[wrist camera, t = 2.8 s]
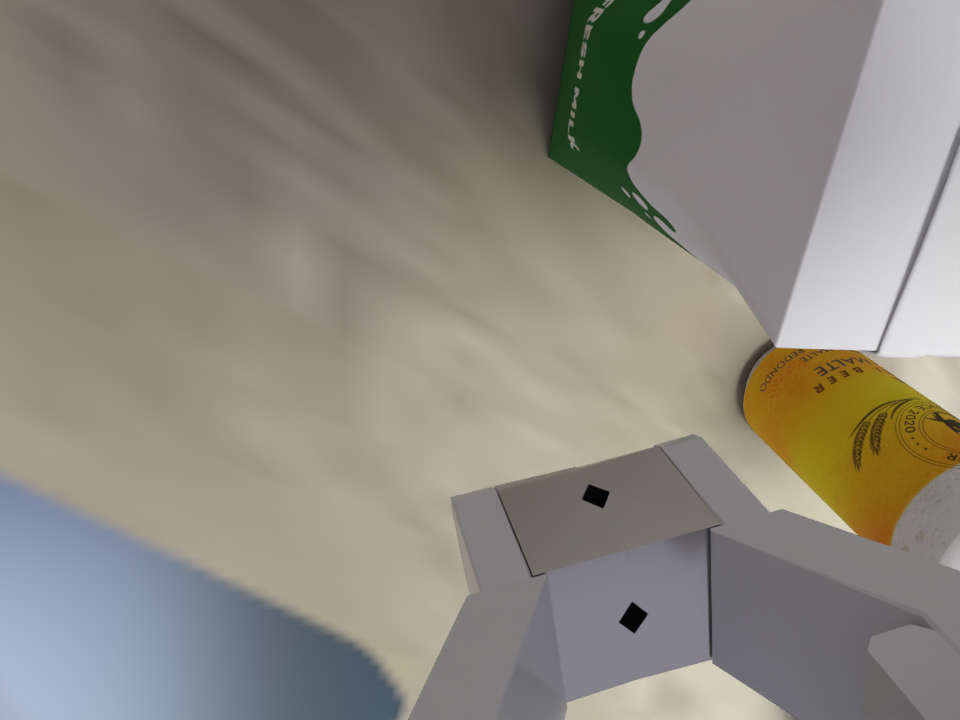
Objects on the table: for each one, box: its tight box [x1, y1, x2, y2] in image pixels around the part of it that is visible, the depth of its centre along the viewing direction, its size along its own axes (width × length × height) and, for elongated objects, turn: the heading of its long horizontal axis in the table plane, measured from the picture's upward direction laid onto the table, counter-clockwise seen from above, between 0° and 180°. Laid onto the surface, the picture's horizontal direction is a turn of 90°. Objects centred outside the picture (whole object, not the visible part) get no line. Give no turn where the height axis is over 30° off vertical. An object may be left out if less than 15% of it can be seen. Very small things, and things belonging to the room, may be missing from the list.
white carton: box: [549, 0, 960, 358], centre depth 23 cm, size 9×9×20 cm
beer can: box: [743, 346, 960, 571], centre depth 34 cm, size 6×6×15 cm
